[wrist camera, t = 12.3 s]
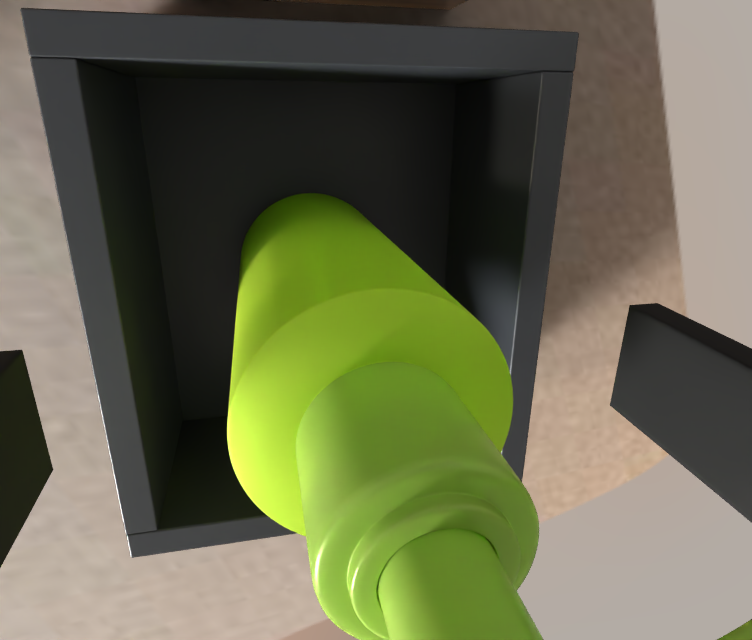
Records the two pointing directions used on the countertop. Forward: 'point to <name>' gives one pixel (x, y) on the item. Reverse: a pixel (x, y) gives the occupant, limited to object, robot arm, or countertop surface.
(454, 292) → the dark grey open box
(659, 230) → the countertop surface
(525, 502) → the soap dispenser
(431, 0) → the wooden divided tray
